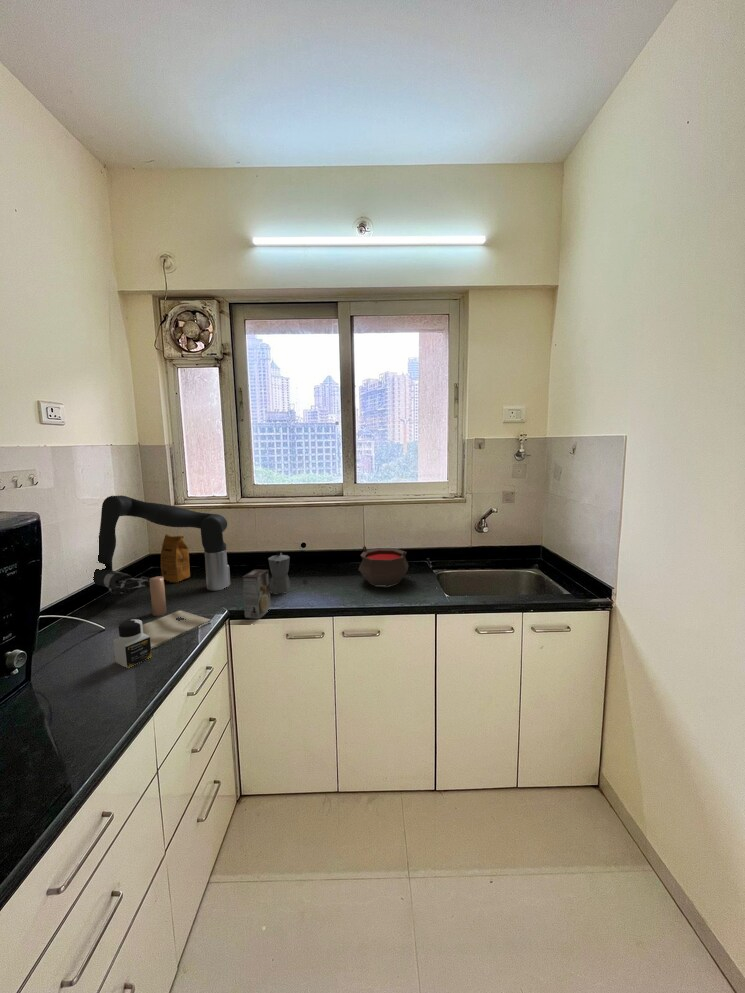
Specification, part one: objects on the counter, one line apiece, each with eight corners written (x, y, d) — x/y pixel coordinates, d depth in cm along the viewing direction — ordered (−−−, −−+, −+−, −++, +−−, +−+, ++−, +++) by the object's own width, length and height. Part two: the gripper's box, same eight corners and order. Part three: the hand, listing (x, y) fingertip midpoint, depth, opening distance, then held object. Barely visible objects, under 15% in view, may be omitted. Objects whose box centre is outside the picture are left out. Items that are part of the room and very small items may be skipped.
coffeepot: (290, 595, 167) (288, 554, 165) (267, 597, 166) (265, 555, 164) (292, 583, 183) (291, 545, 180) (271, 584, 181) (270, 546, 179)
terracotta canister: (161, 610, 154) (158, 575, 153) (169, 612, 152) (166, 577, 150) (149, 614, 150) (146, 579, 149) (157, 617, 148) (154, 581, 146)
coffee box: (256, 608, 155) (254, 568, 153) (271, 609, 153) (269, 569, 151) (244, 618, 146) (241, 576, 144) (260, 619, 145) (257, 577, 143)
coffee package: (176, 574, 198) (172, 532, 195) (193, 577, 193) (190, 534, 190) (158, 580, 189) (154, 536, 187) (175, 584, 184) (172, 538, 181)
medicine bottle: (127, 669, 113) (123, 629, 111) (115, 662, 116) (111, 624, 115) (152, 657, 119) (148, 620, 117) (139, 651, 122) (136, 615, 121)
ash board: (180, 613, 151) (180, 610, 151) (211, 622, 142) (211, 619, 142) (120, 637, 132) (120, 633, 132) (151, 650, 123) (151, 646, 123)
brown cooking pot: (418, 579, 186) (418, 545, 184) (393, 595, 166) (393, 557, 164) (375, 571, 199) (375, 539, 197) (347, 585, 179) (347, 550, 177)
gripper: (98, 577, 157) (121, 584, 149) (135, 568, 169) (157, 573, 161) (100, 595, 158) (122, 603, 150) (136, 584, 170) (158, 591, 162)
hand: (140, 588), depth 156 cm, fingers open, 8 cm apart
